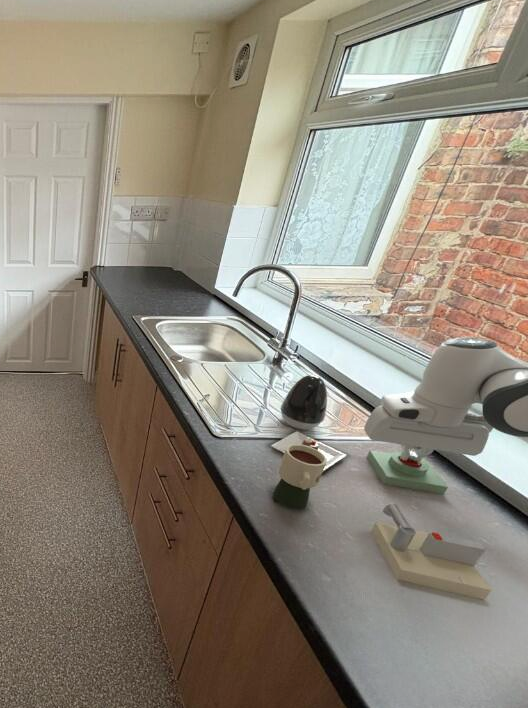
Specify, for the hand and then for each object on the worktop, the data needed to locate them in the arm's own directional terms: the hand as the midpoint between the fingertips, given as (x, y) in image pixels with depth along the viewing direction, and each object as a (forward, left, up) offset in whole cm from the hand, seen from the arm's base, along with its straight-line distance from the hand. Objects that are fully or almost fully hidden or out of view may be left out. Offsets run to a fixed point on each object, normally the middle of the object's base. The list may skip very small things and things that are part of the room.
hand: (409, 460), depth 95 cm
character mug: (+27, +18, -4) cm, 33 cm away
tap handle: (+5, +29, -1) cm, 29 cm away
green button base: (0, 0, -4) cm, 4 cm away
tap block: (+7, +29, -4) cm, 30 cm away
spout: (+12, +26, -1) cm, 28 cm away
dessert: (+19, -2, -4) cm, 19 cm away
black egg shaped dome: (+18, -16, -4) cm, 24 cm away
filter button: (0, 0, -2) cm, 2 cm away
